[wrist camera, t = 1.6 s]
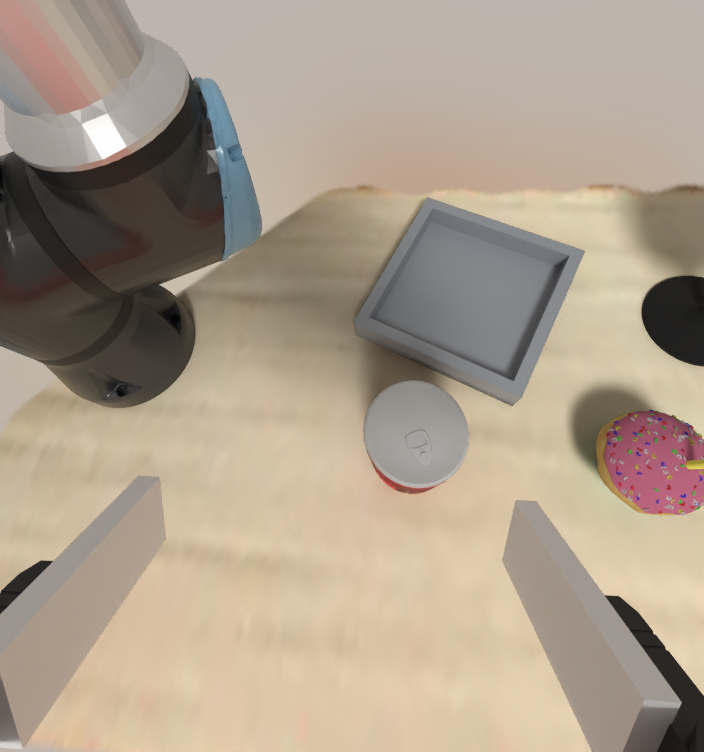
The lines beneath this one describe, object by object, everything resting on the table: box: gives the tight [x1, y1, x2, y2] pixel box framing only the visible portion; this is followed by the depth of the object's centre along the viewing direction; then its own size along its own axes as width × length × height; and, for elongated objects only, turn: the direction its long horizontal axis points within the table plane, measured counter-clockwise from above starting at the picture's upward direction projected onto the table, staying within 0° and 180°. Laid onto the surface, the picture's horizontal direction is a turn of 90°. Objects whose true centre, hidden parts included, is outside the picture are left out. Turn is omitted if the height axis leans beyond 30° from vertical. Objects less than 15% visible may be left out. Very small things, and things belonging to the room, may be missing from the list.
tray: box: [353, 197, 585, 406], centre depth 41 cm, size 18×18×3 cm
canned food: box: [363, 380, 469, 494], centre depth 33 cm, size 8×8×11 cm
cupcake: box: [596, 410, 704, 515], centre depth 30 cm, size 9×8×12 cm
